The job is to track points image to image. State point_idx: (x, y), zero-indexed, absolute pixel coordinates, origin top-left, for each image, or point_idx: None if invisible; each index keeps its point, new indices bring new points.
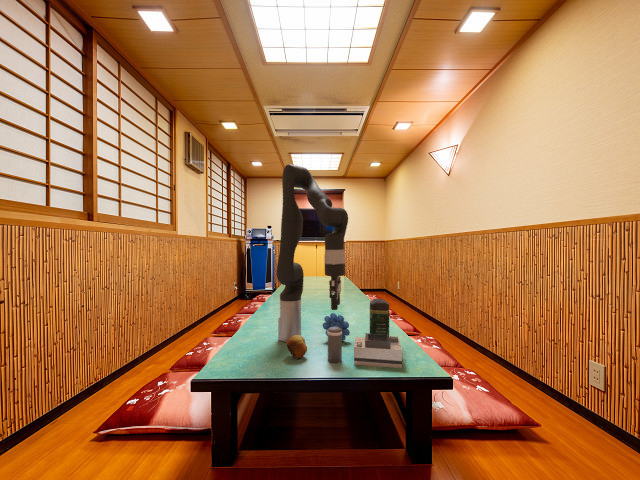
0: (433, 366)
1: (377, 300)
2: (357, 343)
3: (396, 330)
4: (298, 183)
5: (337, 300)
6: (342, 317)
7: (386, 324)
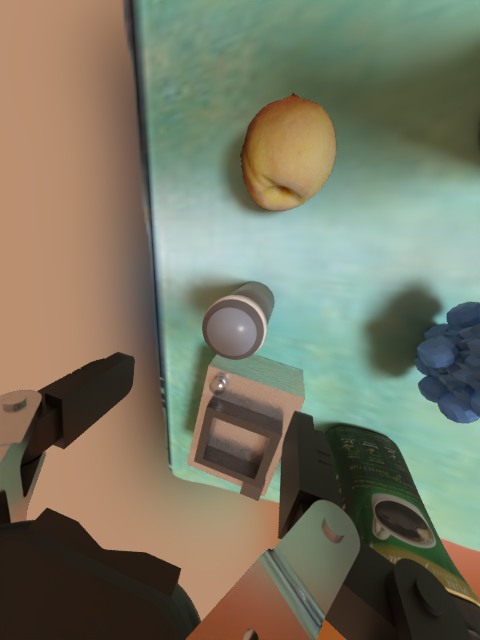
0: (211, 483)
1: None
2: (211, 381)
3: None
4: None
5: (74, 437)
6: None
7: None
